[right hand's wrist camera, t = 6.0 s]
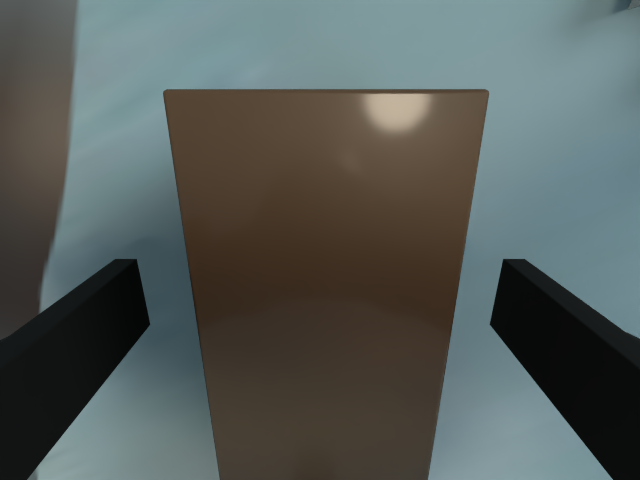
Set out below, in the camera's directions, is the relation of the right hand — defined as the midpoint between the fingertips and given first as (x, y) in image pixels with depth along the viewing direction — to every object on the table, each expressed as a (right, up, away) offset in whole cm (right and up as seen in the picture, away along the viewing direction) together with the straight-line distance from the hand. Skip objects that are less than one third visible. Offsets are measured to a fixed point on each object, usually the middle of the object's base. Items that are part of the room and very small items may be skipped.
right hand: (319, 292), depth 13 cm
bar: (0, -30, +15) cm, 34 cm away
